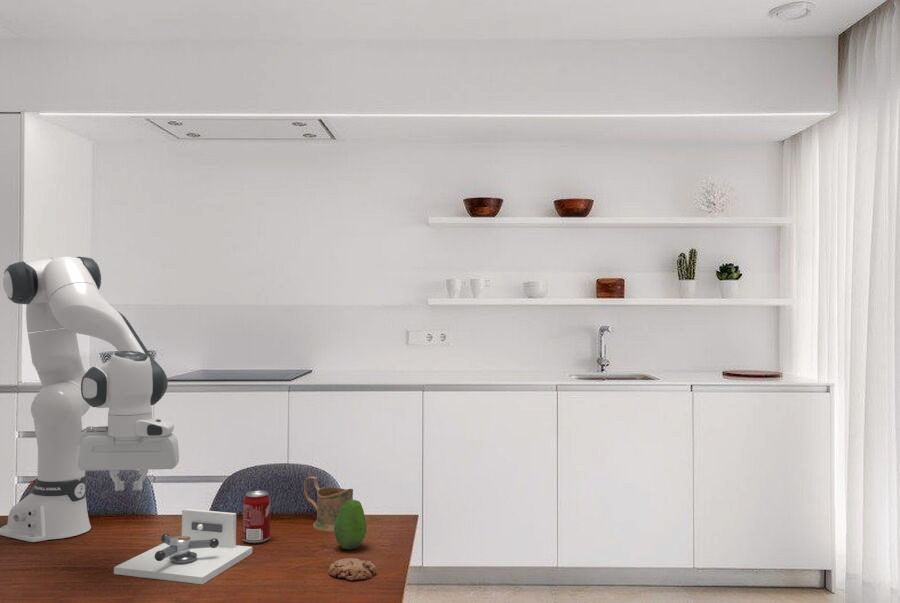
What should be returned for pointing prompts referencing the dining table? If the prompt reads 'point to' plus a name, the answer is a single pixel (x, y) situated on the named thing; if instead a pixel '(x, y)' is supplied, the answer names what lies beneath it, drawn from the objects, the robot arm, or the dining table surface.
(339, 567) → the cookie
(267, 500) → the soda can
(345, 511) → the fruit
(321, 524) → the tan ceramic pitcher
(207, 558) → the stand
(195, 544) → the capstan
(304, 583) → the dining table surface
